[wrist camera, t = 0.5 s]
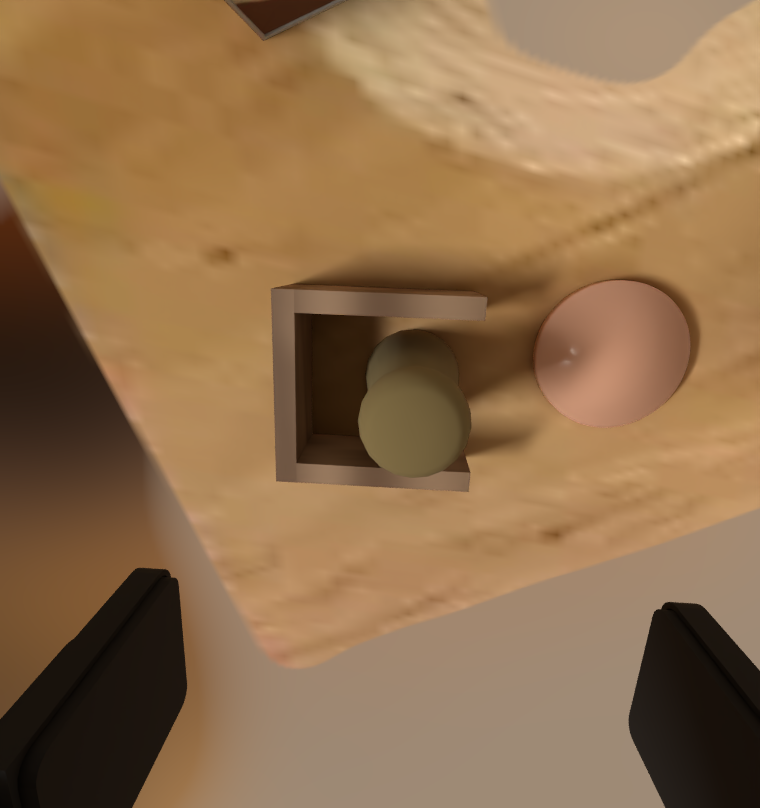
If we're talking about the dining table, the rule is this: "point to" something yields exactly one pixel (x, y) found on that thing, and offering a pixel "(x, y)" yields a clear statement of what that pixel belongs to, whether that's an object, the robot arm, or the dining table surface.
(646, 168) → the dining table surface
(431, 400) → the olive peg doll
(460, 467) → the walnut shelf bay
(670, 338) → the terracotta coaster
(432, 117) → the dining table surface
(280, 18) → the food container
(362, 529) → the dining table surface
